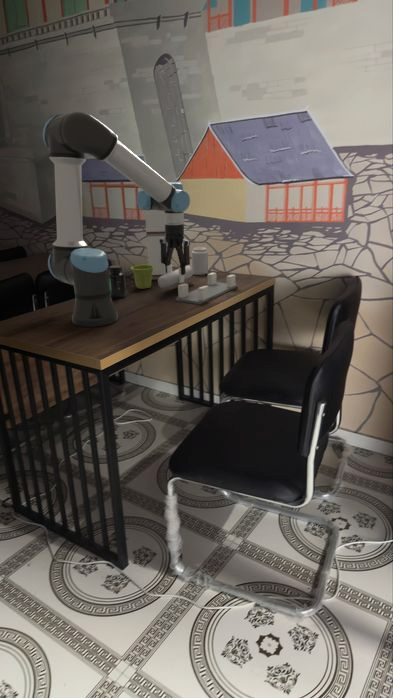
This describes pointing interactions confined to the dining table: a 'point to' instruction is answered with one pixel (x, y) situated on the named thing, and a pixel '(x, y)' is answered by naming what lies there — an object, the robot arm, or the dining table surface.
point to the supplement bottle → (117, 282)
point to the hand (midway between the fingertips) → (175, 281)
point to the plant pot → (143, 275)
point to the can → (200, 261)
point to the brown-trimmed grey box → (155, 240)
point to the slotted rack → (206, 290)
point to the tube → (174, 277)
